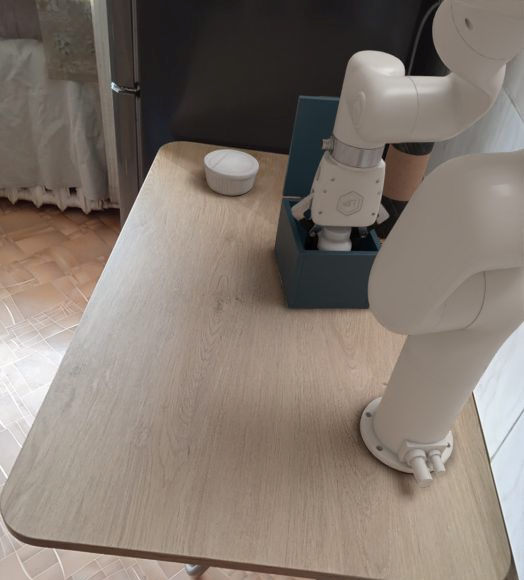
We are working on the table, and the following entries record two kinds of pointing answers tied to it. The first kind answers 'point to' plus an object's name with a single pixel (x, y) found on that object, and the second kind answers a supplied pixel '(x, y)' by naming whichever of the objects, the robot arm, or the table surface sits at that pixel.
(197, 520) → the table surface
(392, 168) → the travel mug
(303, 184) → the lid
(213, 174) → the ramekin
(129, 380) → the table surface
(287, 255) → the chest
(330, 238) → the pill bottle
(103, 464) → the table surface
